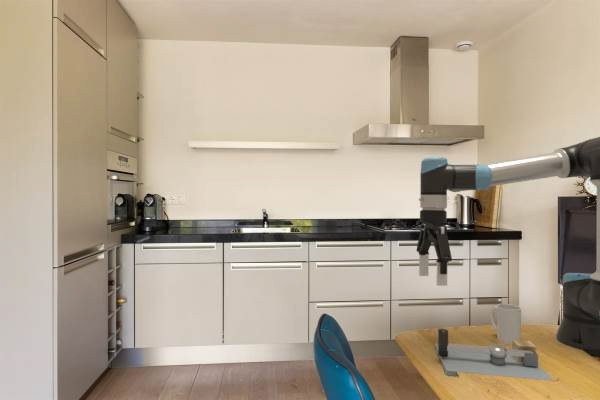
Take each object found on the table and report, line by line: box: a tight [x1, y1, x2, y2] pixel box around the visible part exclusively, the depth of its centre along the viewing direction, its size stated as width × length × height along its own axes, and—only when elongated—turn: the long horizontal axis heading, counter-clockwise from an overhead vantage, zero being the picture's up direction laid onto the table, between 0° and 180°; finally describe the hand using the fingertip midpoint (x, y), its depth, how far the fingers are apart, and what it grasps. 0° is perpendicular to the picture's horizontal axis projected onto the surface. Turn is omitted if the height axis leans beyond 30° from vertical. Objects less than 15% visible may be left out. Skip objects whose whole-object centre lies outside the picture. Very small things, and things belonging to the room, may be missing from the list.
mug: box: [489, 303, 522, 345], centre depth 118 cm, size 10×7×12 cm, turn 21°
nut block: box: [511, 339, 537, 363], centre depth 102 cm, size 4×4×4 cm
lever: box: [437, 328, 539, 367], centre depth 100 cm, size 25×4×7 cm, turn 78°
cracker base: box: [434, 343, 555, 382], centre depth 101 cm, size 25×18×3 cm
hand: (432, 280), depth 109 cm, fingers open, 13 cm apart
